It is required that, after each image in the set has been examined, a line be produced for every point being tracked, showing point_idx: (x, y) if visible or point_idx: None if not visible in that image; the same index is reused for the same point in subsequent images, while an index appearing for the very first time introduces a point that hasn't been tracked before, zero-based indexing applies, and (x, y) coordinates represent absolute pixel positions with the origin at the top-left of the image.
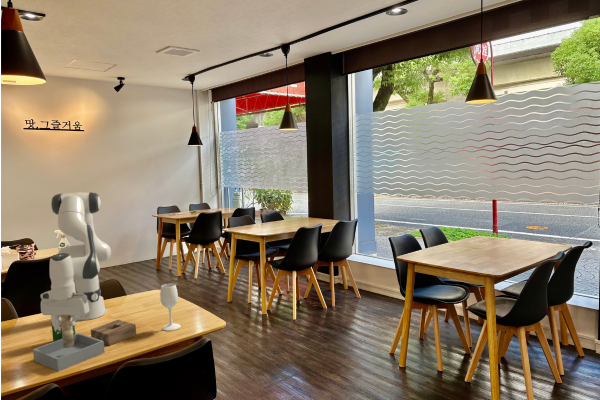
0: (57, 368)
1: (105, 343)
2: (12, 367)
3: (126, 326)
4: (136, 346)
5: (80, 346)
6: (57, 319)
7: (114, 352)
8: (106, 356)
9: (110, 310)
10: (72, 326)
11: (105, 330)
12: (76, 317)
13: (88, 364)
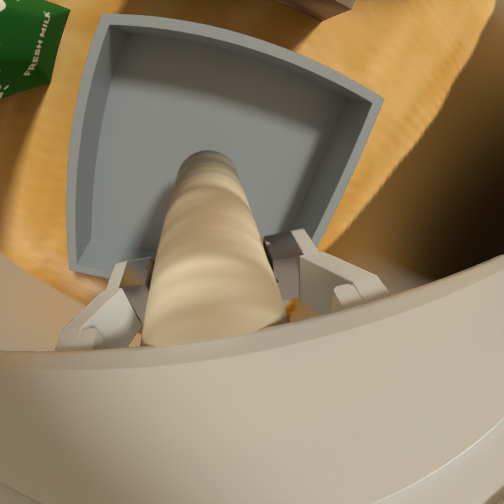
0: None
1: (292, 5)
2: (77, 291)
3: None
4: (434, 46)
5: (182, 68)
6: (125, 347)
7: (390, 93)
8: (380, 132)
9: None
10: (27, 14)
11: None
12: (357, 273)
13: (350, 205)
